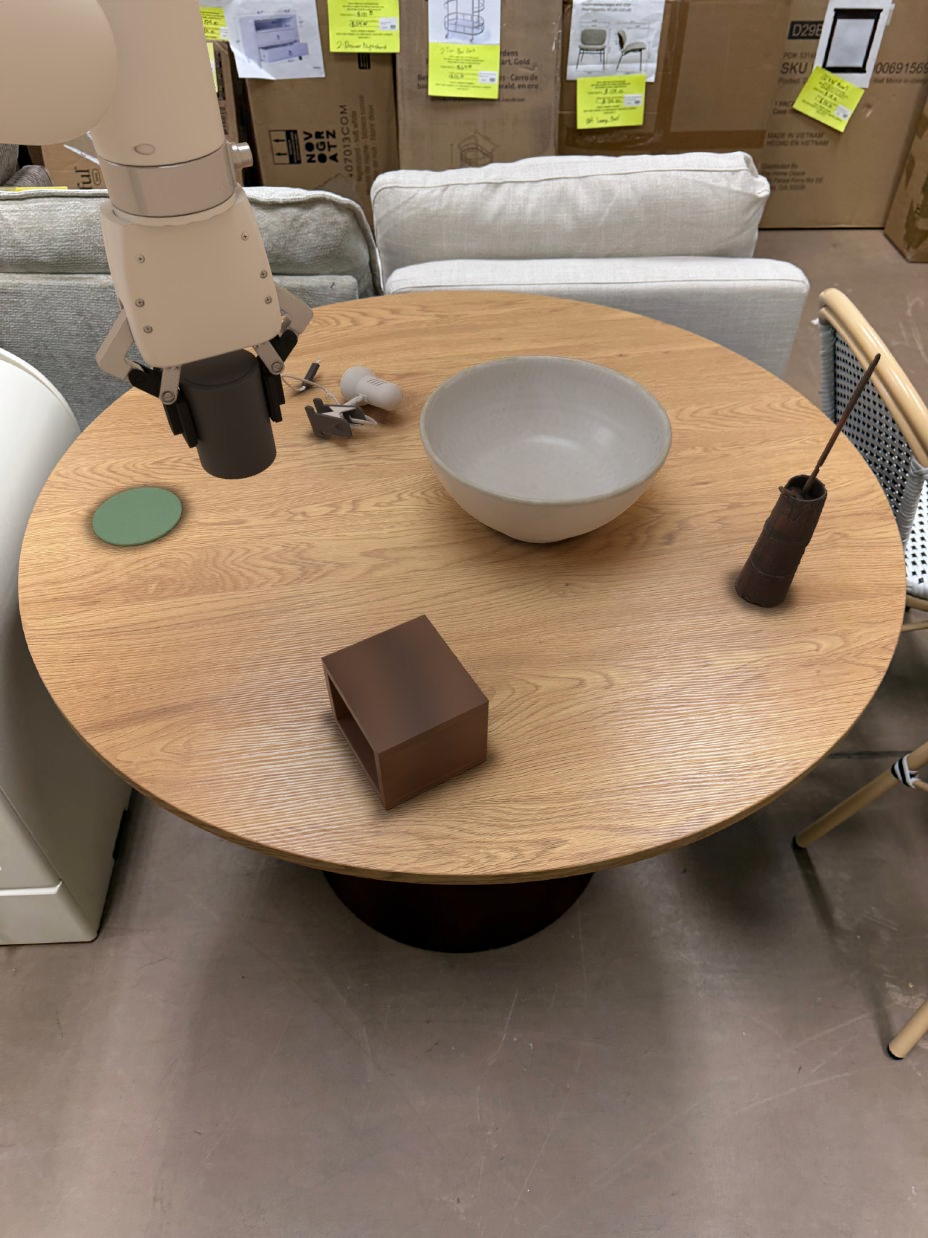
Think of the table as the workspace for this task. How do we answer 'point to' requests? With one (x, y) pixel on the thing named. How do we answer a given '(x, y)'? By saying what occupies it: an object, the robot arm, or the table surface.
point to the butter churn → (790, 526)
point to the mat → (137, 516)
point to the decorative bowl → (544, 444)
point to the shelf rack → (407, 709)
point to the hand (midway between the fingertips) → (230, 423)
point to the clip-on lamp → (349, 400)
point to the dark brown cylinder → (229, 414)
